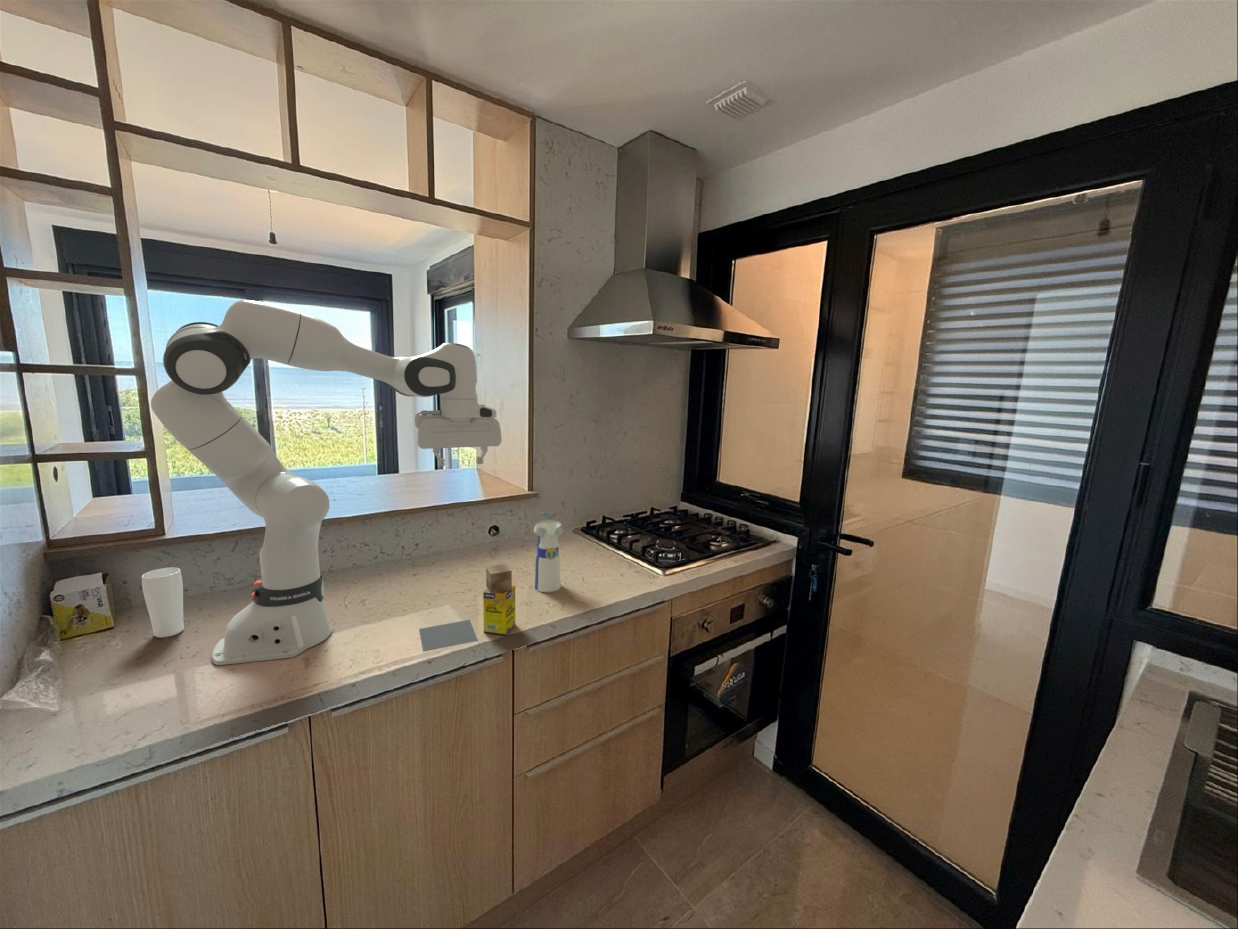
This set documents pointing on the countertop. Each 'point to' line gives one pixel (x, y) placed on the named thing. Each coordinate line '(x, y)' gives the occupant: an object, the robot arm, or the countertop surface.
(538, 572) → the white and blue cylinder
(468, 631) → the mat
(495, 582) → the walnut cube
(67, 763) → the countertop surface
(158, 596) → the drinking glass
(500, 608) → the supplement box
